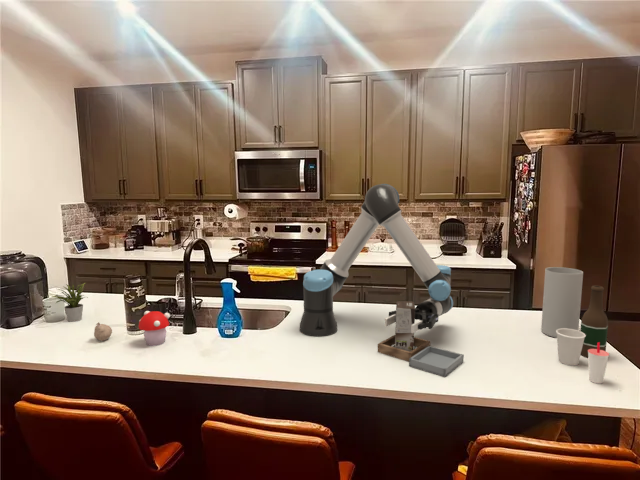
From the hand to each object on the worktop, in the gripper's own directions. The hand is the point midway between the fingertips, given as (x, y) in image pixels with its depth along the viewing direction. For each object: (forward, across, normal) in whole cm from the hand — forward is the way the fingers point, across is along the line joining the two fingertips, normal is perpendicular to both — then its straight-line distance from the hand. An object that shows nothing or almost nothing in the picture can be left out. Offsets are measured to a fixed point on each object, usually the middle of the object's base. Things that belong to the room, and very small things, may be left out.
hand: (398, 325), depth 145 cm
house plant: (+56, +128, -12) cm, 140 cm away
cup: (-20, -55, -10) cm, 60 cm away
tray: (-1, -14, -10) cm, 17 cm away
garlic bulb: (+59, +93, -11) cm, 110 cm away
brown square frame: (-4, 0, -10) cm, 11 cm away
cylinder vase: (-57, -38, -10) cm, 70 cm away
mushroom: (+48, +75, -11) cm, 90 cm away
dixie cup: (-30, -46, -10) cm, 56 cm away
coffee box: (-4, 0, -10) cm, 11 cm away
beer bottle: (-41, -51, -10) cm, 66 cm away
